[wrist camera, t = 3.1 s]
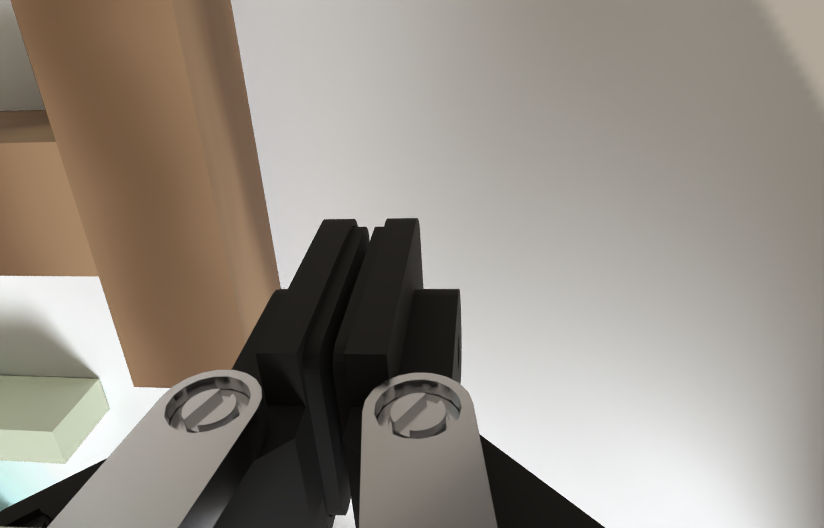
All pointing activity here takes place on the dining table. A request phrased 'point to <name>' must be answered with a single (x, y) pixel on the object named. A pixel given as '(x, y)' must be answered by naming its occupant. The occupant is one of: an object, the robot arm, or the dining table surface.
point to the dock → (47, 416)
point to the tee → (141, 177)
